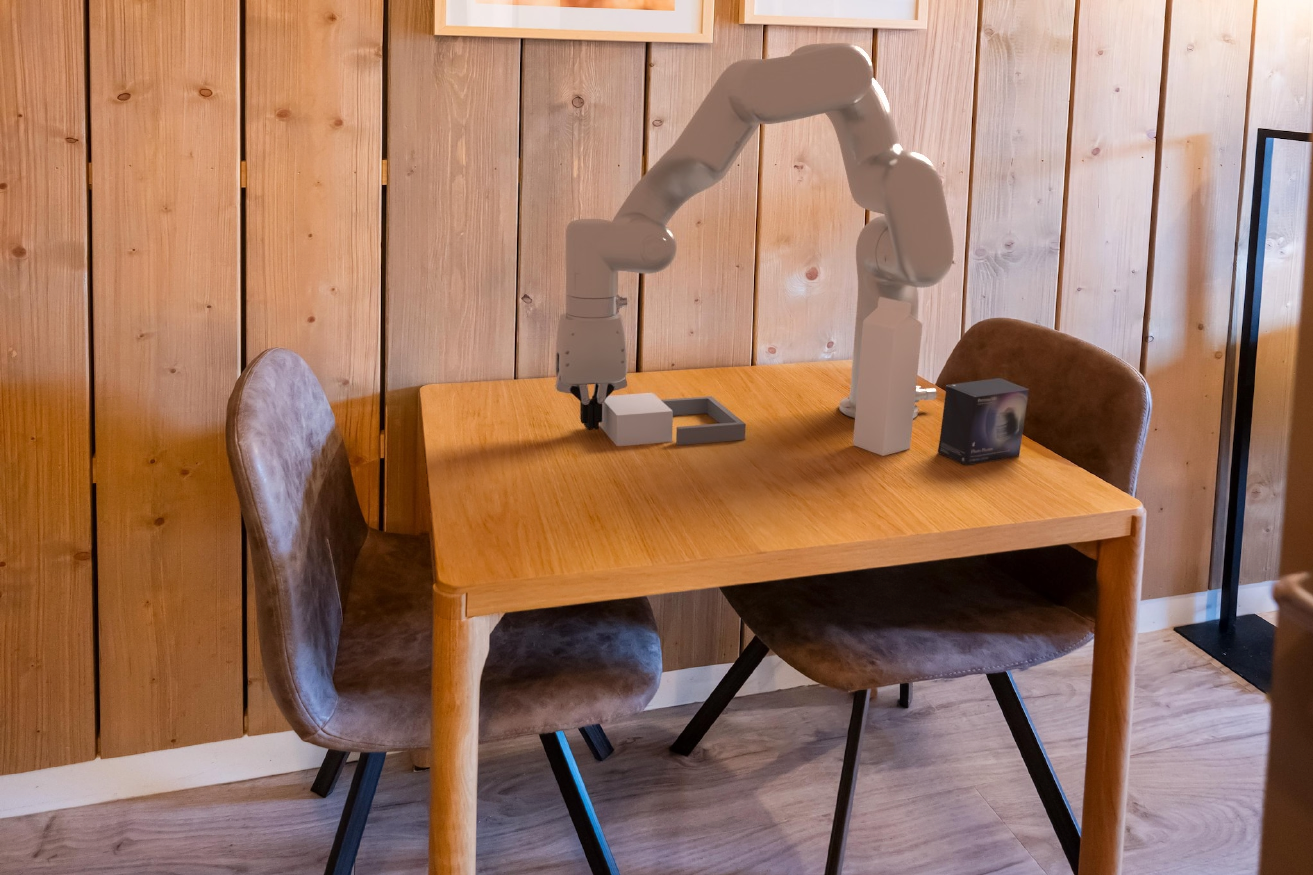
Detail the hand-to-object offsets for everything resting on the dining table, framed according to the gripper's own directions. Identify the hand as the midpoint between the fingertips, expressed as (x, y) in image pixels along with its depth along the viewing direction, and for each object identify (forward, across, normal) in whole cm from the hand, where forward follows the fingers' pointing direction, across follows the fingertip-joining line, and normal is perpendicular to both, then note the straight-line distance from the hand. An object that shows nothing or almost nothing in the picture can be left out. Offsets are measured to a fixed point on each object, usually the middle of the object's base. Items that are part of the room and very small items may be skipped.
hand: (591, 427), depth 161 cm
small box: (+1, -53, +22) cm, 57 cm away
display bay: (+1, -17, 0) cm, 17 cm away
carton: (+2, -7, +1) cm, 7 cm away
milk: (+1, -40, +16) cm, 43 cm away
